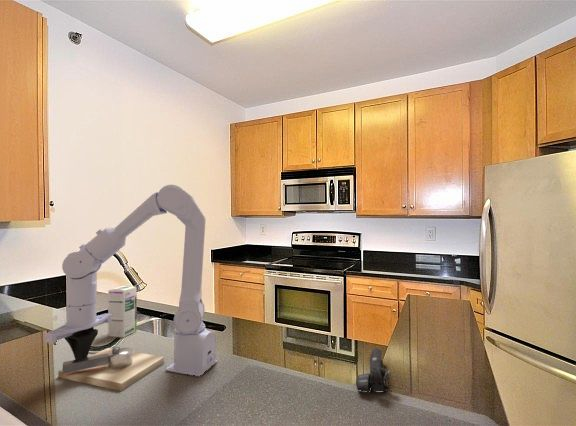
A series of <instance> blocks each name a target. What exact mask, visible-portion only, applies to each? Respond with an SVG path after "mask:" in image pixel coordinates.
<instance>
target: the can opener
mask: <svg viewBox="0 0 576 426" xmlns="http://www.w3.org/2000/svg"><path fill="white" fill-rule="evenodd" d="M382 355H383V354H382V350H381V349H380V348H378V347H377V348H374V349H373V350H372V351H371V353H370V357H369V358H370V359H369V367H370V368H369V372H367V373H363V374H358V376H357V377H356V382H355V384H356V389H357V391H358V390H361V391H367V392H369V391H370V388H371V387H372V388H371V389H372V391H374V390H375V391H386V390H388V389H389V390H390V388H387V387H389V386H388V379H389V378H390V376H391V374H390V371H391V370H390V369H387V368H385V367H384V366H385V365H384V361H383V359H382ZM389 390H388V391H389ZM375 391H374V392H375ZM386 392H387V391H386Z"/></svg>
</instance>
